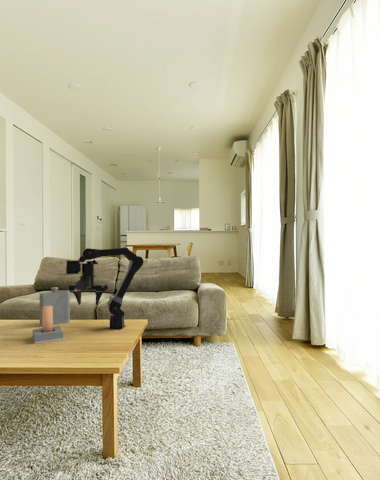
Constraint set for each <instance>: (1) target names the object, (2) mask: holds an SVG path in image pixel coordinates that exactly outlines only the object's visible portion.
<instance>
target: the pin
mask: <svg viewBox="0 0 380 480" xmlns="http://www.w3.org/2000/svg"><path fill="white" fill-rule="evenodd" d="M53 327H54V325H53V306H43V307H42V327H41V328H42V333H43V332H50V331H53Z"/></svg>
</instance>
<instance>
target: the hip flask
mask: <svg viewBox="0 0 380 480" xmlns="http://www.w3.org/2000/svg"><path fill="white" fill-rule="evenodd" d="M50 289H51V291H50V292H48V291H47V292H40V293H39V327H40V328H42V307H43V306H53V326H54V324H55V325H61V324H60V323H62V324H67V323H71V292H70V291H68V290H65V289H64V290H59V287H55V286H54V287H53V286H52V287H51V288H50Z"/></svg>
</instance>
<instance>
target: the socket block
mask: <svg viewBox="0 0 380 480" xmlns="http://www.w3.org/2000/svg"><path fill="white" fill-rule="evenodd" d="M32 339H33V341H34V344H38V343H45V342H47V343H48V342H52V341H58V340H59V341H60V340H63V339H64V330H63V329H62V328H61V326H58V325H57V326H53V331H50V332H43V333H42V327H40V328H34V329H32Z"/></svg>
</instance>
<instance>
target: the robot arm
mask: <svg viewBox="0 0 380 480" xmlns="http://www.w3.org/2000/svg"><path fill="white" fill-rule="evenodd" d="M111 256H124V257H125V258H126V260H128V261H129V263H128V266H127V271H126V273H125V275H124V277H123V279H122V280H121V283H120V284H119V287H118V288H117V291H116V293H115V294H114V295H113V296H109V298H108V301H107V302H106V310H107V311H108V312H109V313H110V314H111V315H110V317H109V330H123V328H125V327H126V325H125V311H124V310H122V309H121V307H122V306H123V305H122V304H123V299H124V296H125V294H126V292H127V291H128V289H129V286H130V284H131V282H132V281H133V279H134V276H135V275H136V273H137V272H138V271H140V269H141V267H142V266H143V265H144V262H145V261H144V258H142V256H140V255H139V256H138V255H137V254H136V253H134V252H133V251H131V250H130V249H129V248H128V247H117V248H104V249H101V248H98V249H97V248H87V247H86V248H84V249H82V251H81V256H79V258H78V259H77V260H70V259H69V260H66V261H65V262H66V264H65V265H66V266H65V274H66V275H78V274H79V273H80V272H81V275H80V277H79V280H77V281H76V282H75V283H72V284H69V285H68V287H67V291H70V293H72V294H73V295H74V296H75V299H76V301H77V305H78V306H80V305H81V304H82V291H86V290H95V291H94V293H95V306H98V304H99V301H100V300H101V297H102V295H103V294H104V293H105V292H106V291H108V289H109V285H107V283H99V284H96V283H95V278H96V275H95V274H94V273H95V271H94V270H95V265H98V264H99V263H98V262H97V261H96V259H98V258H101V257H111ZM84 262H85V263H84Z"/></svg>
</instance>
